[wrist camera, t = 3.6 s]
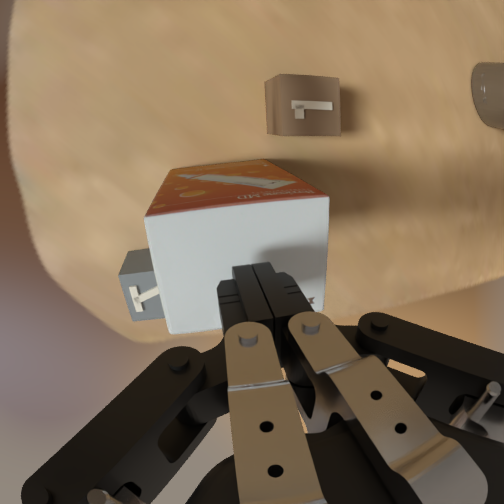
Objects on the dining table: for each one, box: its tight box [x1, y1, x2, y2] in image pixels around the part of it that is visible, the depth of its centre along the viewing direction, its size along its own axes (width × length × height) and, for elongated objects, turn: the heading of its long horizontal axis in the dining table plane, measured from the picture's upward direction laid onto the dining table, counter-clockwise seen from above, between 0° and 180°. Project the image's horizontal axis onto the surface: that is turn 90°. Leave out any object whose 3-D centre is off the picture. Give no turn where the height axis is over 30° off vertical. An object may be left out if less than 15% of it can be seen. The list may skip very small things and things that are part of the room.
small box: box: [144, 159, 330, 334], centre depth 19 cm, size 8×6×13 cm
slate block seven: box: [118, 249, 165, 321], centre depth 24 cm, size 4×4×5 cm
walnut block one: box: [265, 74, 341, 136], centre depth 20 cm, size 4×4×5 cm
